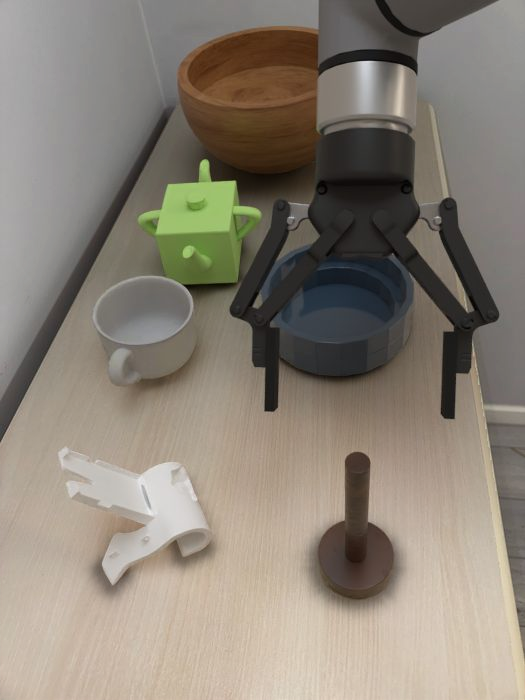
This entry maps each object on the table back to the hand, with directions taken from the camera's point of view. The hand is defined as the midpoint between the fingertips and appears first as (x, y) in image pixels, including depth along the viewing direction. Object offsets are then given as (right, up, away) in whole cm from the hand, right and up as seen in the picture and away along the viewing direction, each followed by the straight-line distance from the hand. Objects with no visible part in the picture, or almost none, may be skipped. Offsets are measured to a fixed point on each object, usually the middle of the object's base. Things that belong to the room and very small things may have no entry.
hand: (357, 413), depth 53 cm
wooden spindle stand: (+1, -14, +6) cm, 15 cm away
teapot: (-15, +16, +36) cm, 42 cm away
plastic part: (-18, -12, +10) cm, 24 cm away
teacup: (-20, +3, +24) cm, 32 cm away
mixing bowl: (+1, +8, +26) cm, 27 cm away
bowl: (-6, +34, +51) cm, 62 cm away
